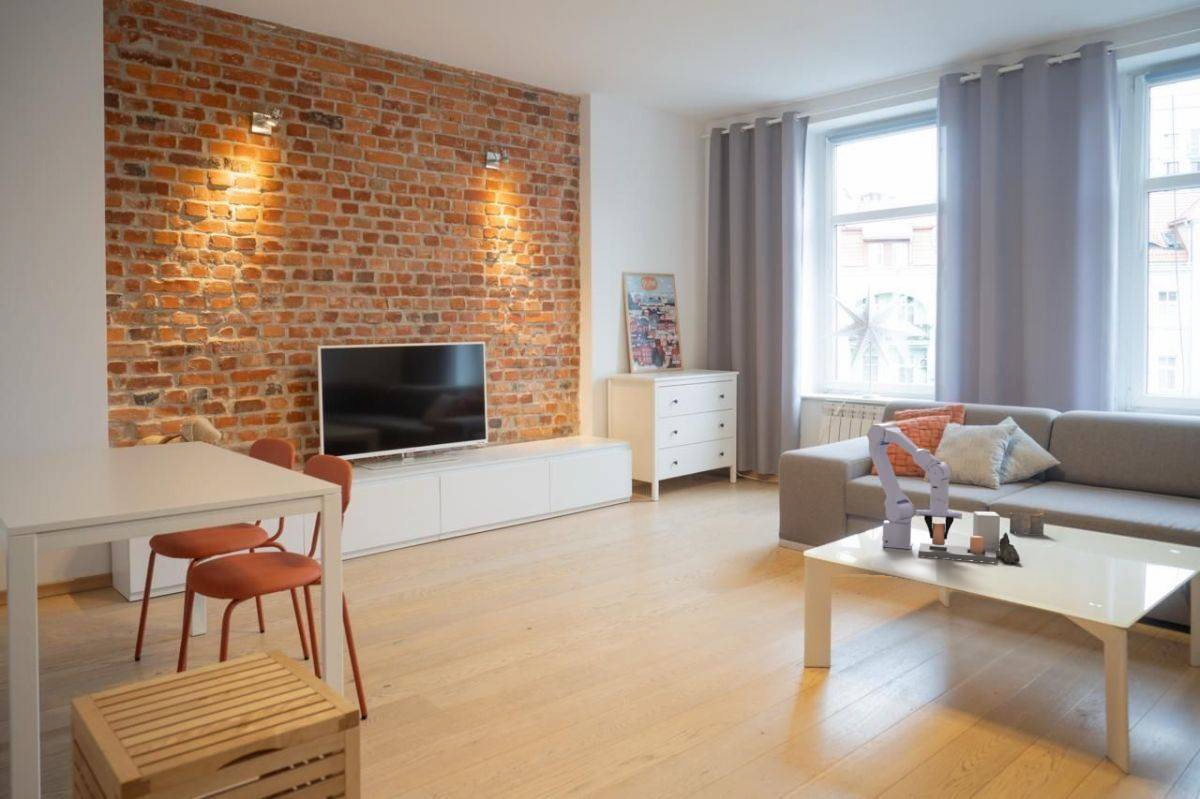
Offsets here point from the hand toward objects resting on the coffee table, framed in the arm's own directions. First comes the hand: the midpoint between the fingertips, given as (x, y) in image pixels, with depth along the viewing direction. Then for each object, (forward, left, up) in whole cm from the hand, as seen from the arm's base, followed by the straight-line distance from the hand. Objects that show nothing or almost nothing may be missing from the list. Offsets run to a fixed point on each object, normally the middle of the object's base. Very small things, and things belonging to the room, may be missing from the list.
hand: (938, 538), depth 302 cm
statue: (+21, +4, -6) cm, 23 cm away
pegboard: (+6, 0, -6) cm, 8 cm away
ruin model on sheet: (+29, +45, -6) cm, 54 cm away
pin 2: (+12, 0, -6) cm, 13 cm away
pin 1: (0, 0, -2) cm, 2 cm away
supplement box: (+15, +14, -6) cm, 21 cm away
